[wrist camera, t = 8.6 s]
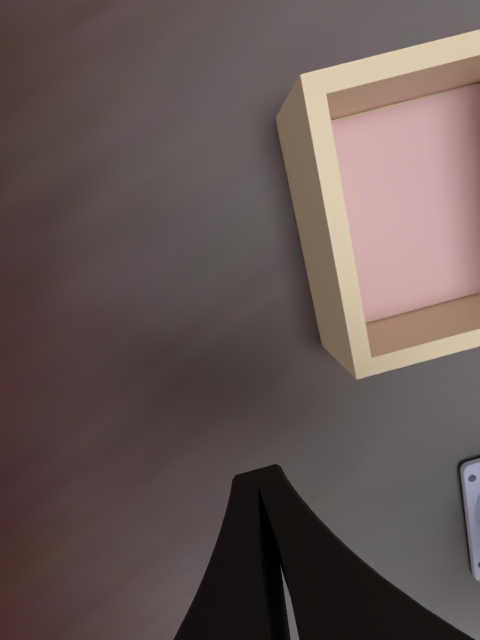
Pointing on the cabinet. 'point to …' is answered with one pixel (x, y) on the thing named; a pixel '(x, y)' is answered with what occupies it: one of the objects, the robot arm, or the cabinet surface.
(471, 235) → the box
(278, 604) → the robot arm
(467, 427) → the cabinet surface
